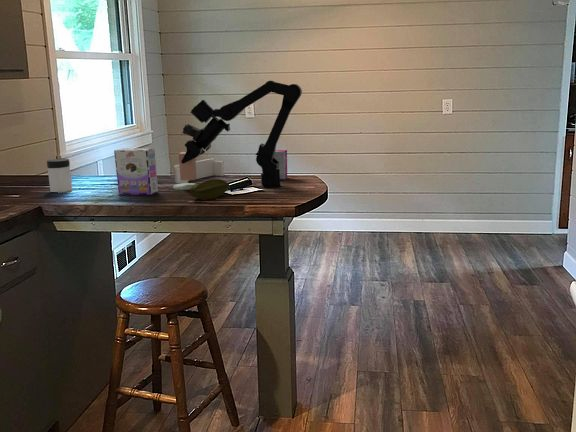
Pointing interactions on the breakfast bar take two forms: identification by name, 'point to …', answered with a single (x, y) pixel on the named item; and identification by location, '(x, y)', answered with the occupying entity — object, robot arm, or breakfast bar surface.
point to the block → (187, 168)
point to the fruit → (209, 189)
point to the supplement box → (282, 162)
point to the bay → (202, 169)
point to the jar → (59, 175)
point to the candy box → (136, 171)
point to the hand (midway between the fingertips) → (184, 161)
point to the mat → (183, 186)
